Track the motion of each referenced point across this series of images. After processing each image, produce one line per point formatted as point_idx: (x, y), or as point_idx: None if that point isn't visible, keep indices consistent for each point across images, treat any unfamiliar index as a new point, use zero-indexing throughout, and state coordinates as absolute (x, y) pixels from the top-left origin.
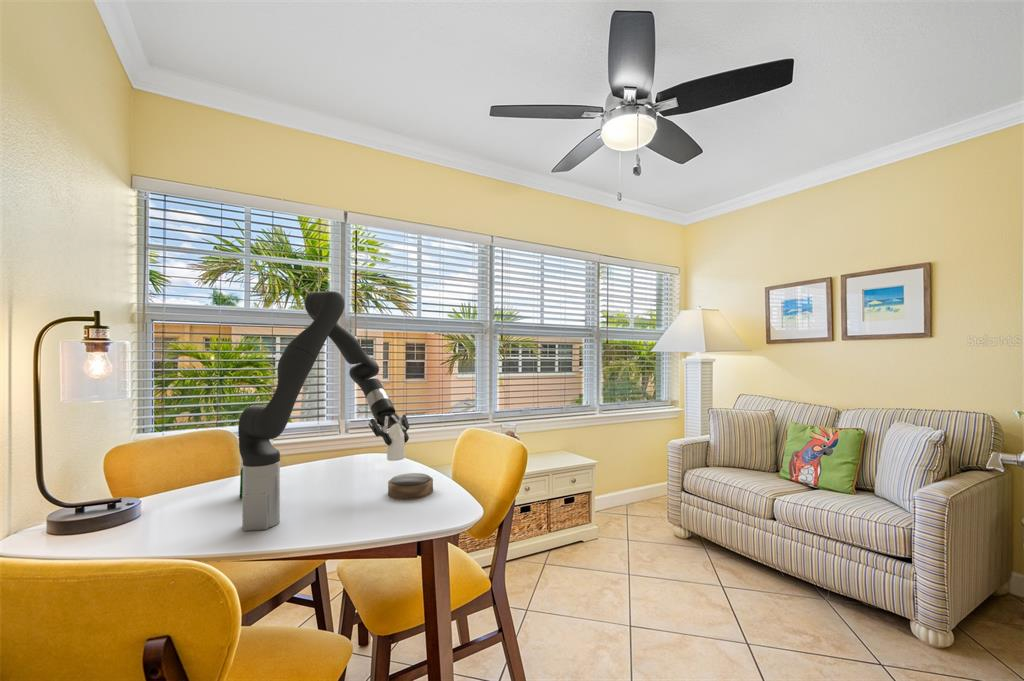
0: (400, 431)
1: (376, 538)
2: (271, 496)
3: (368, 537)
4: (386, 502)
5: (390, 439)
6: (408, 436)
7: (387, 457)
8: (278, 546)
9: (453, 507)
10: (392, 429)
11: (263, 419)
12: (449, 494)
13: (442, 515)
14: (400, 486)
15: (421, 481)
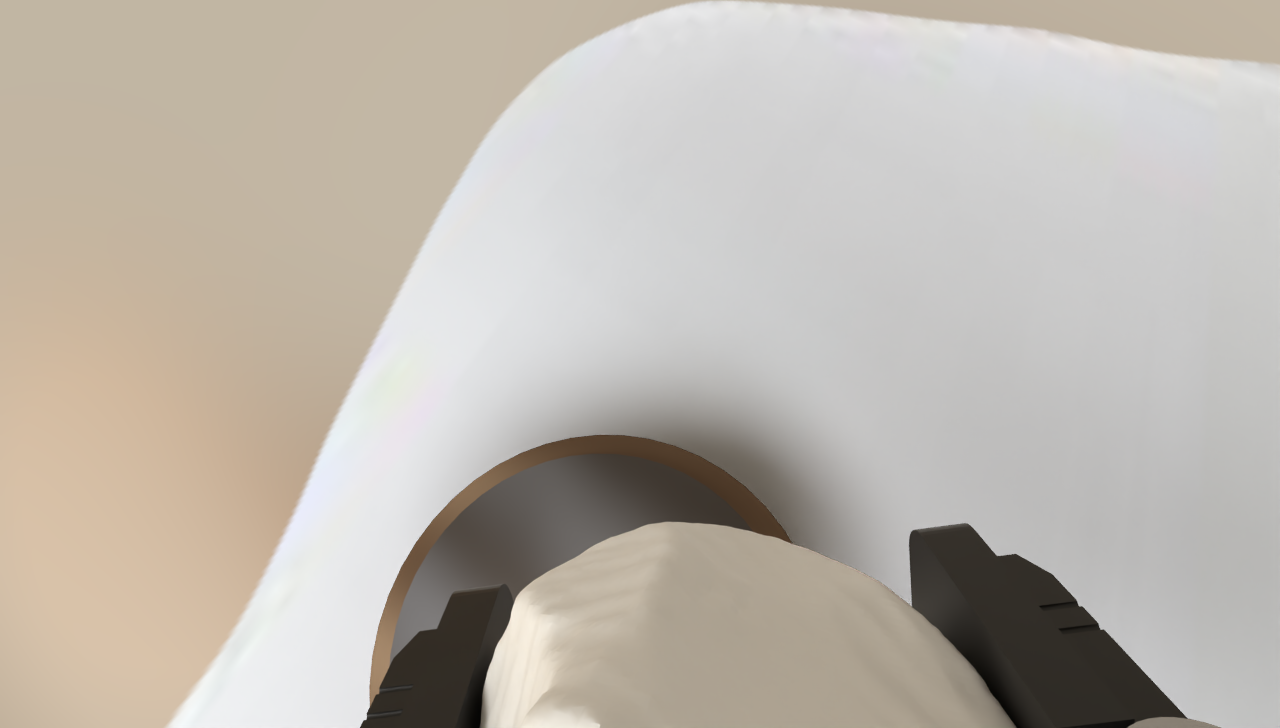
0: (617, 590)
1: (1090, 43)
2: None
3: (1128, 67)
4: (889, 533)
5: (954, 560)
6: (389, 671)
7: None
8: None
9: (563, 192)
10: None
11: None
12: (423, 408)
13: (679, 127)
14: (762, 521)
15: (568, 468)
